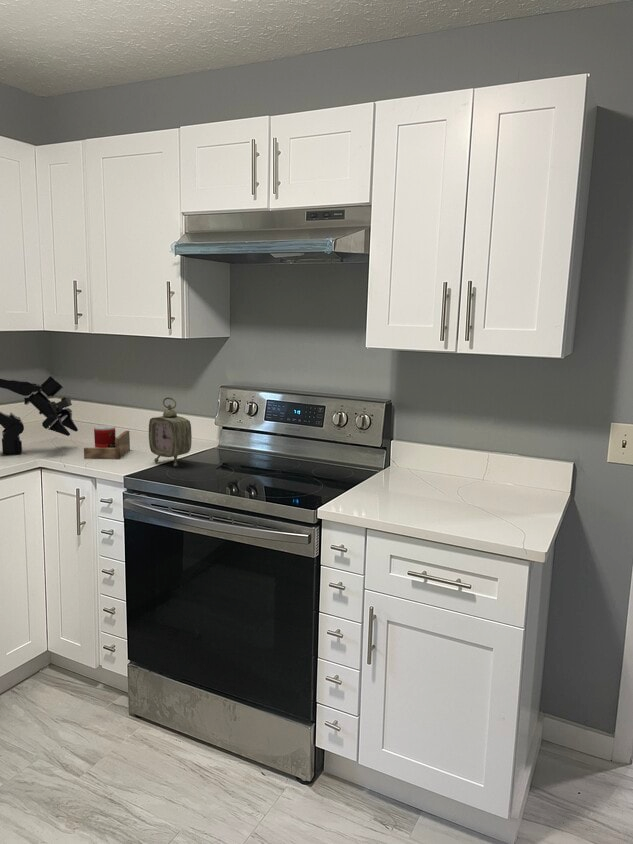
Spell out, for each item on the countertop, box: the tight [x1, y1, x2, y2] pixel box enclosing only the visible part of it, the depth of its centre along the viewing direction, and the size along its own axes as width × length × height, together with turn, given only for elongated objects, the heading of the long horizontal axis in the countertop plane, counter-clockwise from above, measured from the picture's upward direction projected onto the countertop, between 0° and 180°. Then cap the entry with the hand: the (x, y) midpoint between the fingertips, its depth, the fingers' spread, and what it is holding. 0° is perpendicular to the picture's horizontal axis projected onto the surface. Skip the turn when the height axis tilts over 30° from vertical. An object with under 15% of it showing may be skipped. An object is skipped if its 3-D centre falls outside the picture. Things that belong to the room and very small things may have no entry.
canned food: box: [93, 424, 116, 448], centre depth 252 cm, size 8×8×11 cm
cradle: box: [83, 430, 131, 460], centre depth 253 cm, size 14×16×8 cm
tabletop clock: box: [148, 397, 193, 467], centre depth 238 cm, size 14×9×25 cm, turn 54°
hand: (73, 433), depth 256 cm, fingers open, 9 cm apart
